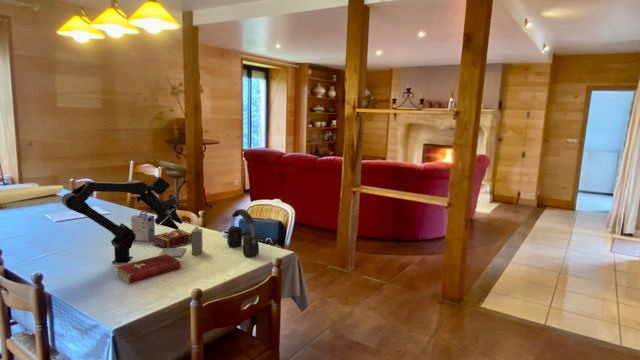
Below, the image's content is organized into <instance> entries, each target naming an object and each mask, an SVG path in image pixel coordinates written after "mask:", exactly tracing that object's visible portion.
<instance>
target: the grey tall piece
mask: <svg viewBox="0 0 640 360" xmlns="http://www.w3.org/2000/svg"><path fill="white" fill-rule="evenodd" d="M191 238H192V241H191V255H192V256H200V255H202V253H203V252H204V251H203V228H199V225H195V226H194V228H193V229H192V230H191Z"/></svg>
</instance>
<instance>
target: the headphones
mask: <svg viewBox="0 0 640 360" xmlns="http://www.w3.org/2000/svg"><path fill="white" fill-rule="evenodd" d="M239 216H241V217H242V218H243V219H244V220H245V223H246V224H247V225H249V227H250V230H251V231H250V232H251V234H248V235H247V234H246V235H244V236H243V229H242V227H240V226H236V225H235V220H236V218H237V217H239ZM231 217H232V218H231V222H230V224H231V225H230V226H229V228H228V229H227V236H226V237H227V238H226V240H227V241H226V242H227V245H228V247H230V248H237V247H241V246H242V254H243V256H244V257H248V258H249V257H254V256H257V255H259V253H260V247H259V246H260V245H259V238H258V236H257V235H256V234H255V228H254V225H253V223H254V219H253V217H252V216H251V214H250V213H249V212H248V211H247V210H246V209H243V208H241V209H235V210H234V212H233V213H231Z"/></svg>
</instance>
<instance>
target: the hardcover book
mask: <svg viewBox="0 0 640 360" xmlns="http://www.w3.org/2000/svg"><path fill="white" fill-rule="evenodd" d="M115 268H116V269H117V276H119V277H120V278H121V279H122V280H124V281H125V282H127V283H128V285H130V284H135V283H138V282H141V281H144V280H147V279H152V278H154V277H158V276H162V275H165V274H168V273H172V272H175V271H179V270H181V269H182V262H181V260H179V259H178V258H177V257H172V256H170V255H168V254H164V255H160V256H158V255H156V256H152V257H148V258H145V259H140V260H137V261H133V262H128V263H123V264H121V265H116V266H115ZM134 282H135V283H134Z"/></svg>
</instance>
